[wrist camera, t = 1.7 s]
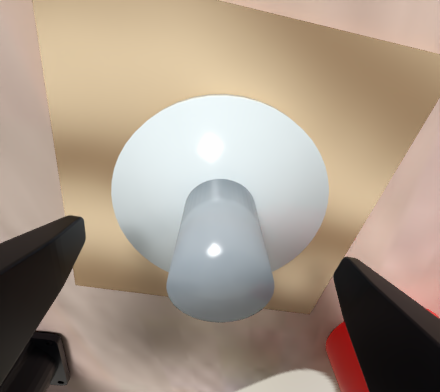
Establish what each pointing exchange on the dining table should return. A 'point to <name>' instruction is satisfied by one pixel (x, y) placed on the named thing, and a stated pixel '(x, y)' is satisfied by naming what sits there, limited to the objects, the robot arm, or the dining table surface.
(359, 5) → the dining table surface
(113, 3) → the mat
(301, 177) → the lid
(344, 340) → the mug
